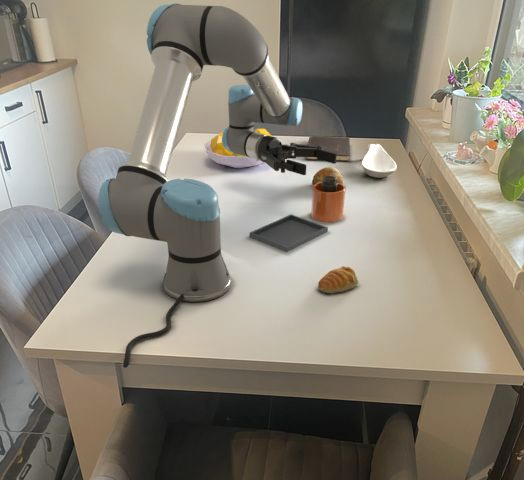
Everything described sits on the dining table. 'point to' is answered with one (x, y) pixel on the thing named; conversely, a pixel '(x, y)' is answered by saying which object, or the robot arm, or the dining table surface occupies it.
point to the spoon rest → (377, 162)
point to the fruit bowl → (230, 153)
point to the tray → (288, 232)
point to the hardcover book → (332, 146)
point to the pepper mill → (329, 184)
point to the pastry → (338, 280)
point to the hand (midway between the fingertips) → (321, 164)
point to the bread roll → (327, 172)
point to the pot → (327, 204)
